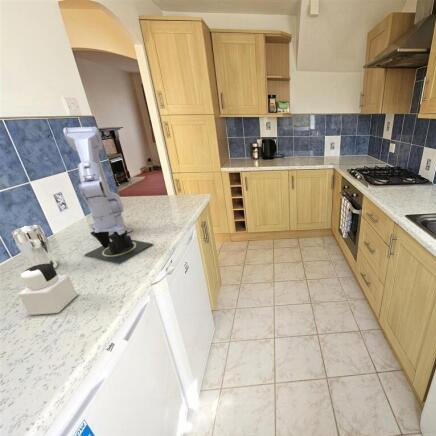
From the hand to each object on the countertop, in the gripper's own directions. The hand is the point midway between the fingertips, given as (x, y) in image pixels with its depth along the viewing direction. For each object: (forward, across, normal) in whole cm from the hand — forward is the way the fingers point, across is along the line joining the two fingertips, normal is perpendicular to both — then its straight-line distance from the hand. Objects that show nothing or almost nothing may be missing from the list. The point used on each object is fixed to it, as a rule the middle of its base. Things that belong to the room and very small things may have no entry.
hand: (114, 248), depth 90 cm
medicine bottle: (+2, +10, -24) cm, 26 cm away
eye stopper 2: (+2, 0, +5) cm, 5 cm away
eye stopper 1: (+2, 0, 0) cm, 2 cm away
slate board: (+2, -2, +2) cm, 4 cm away
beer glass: (+3, -14, -14) cm, 21 cm away
